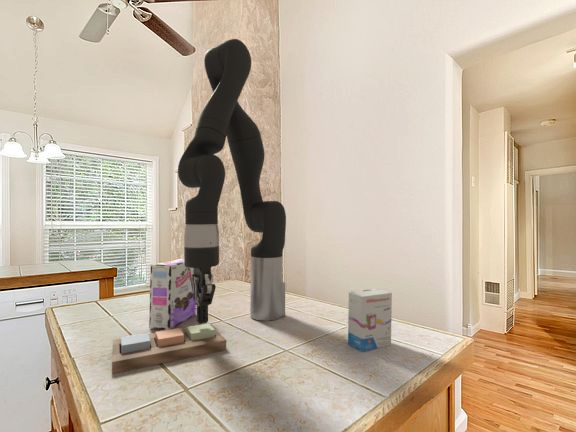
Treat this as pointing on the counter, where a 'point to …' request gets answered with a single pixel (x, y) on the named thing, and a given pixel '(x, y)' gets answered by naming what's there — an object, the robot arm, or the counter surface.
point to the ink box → (369, 319)
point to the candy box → (170, 294)
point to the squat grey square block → (135, 343)
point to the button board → (164, 351)
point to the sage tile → (200, 332)
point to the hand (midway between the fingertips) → (202, 322)
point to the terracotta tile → (169, 337)
